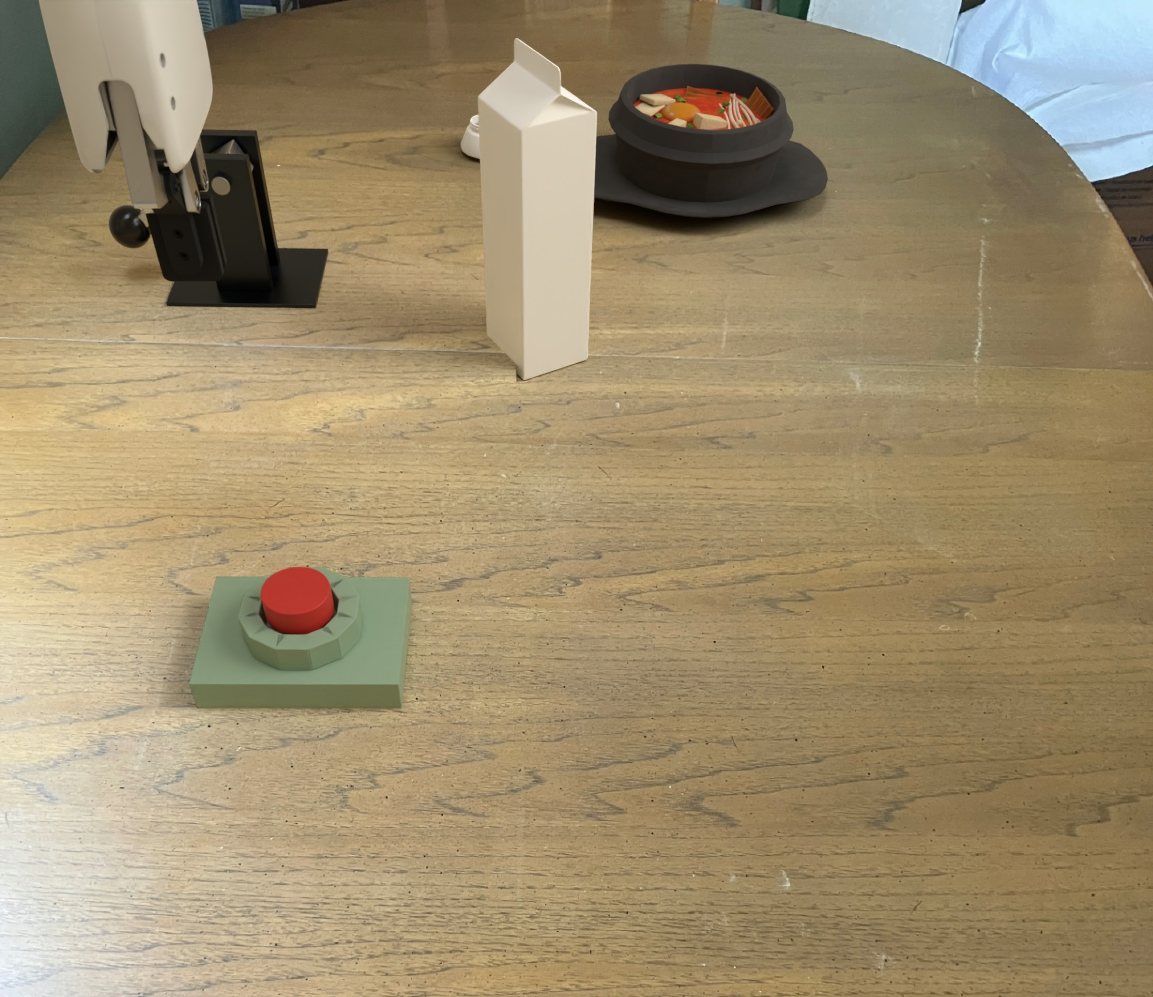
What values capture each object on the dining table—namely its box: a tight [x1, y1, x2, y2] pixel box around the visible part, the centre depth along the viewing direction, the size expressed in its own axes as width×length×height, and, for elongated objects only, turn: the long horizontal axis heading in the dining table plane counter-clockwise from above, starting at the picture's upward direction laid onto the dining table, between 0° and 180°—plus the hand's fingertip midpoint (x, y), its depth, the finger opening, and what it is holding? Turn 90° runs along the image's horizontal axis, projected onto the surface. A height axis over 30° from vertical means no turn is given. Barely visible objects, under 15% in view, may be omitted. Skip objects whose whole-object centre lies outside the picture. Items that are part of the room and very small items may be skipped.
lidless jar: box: [460, 114, 480, 160], centre depth 113 cm, size 5×3×5 cm
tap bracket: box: [165, 128, 329, 309], centre depth 92 cm, size 12×9×12 cm
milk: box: [477, 37, 598, 381], centre depth 83 cm, size 6×6×22 cm
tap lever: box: [108, 140, 253, 249], centre depth 91 cm, size 13×3×3 cm, turn 91°
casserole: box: [594, 63, 829, 219], centre depth 107 cm, size 25×19×8 cm
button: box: [260, 566, 334, 635], centre depth 67 cm, size 4×4×2 cm
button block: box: [188, 566, 413, 709], centre depth 69 cm, size 12×9×4 cm
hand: (196, 272), depth 63 cm, fingers closed
